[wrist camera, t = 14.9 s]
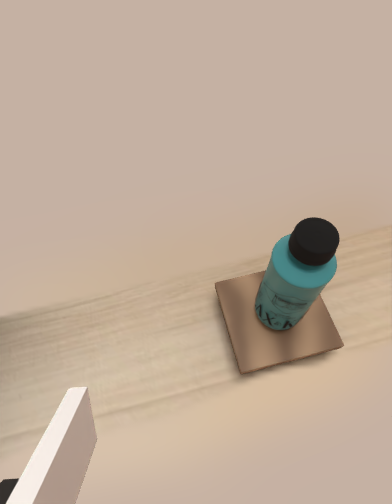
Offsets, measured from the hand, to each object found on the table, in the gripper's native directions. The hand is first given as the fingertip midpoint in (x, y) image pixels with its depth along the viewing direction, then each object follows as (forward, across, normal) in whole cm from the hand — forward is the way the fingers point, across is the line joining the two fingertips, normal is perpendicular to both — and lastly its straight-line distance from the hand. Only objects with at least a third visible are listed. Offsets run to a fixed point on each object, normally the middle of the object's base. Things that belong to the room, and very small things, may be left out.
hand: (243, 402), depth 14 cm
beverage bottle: (+29, +9, -11) cm, 33 cm away
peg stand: (+33, +9, -15) cm, 37 cm away
